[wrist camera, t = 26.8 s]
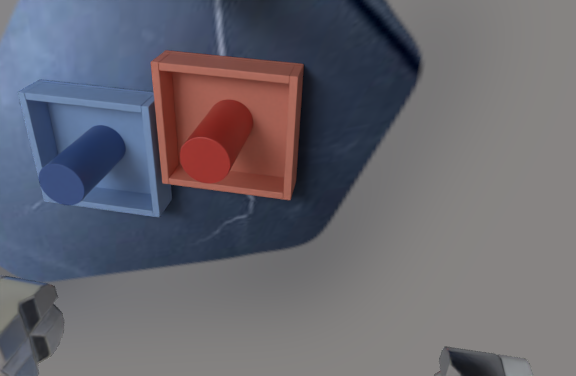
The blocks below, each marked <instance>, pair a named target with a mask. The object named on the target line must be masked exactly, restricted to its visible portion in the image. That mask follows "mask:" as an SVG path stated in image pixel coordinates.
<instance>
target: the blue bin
mask: <svg viewBox="0 0 576 376" xmlns="http://www.w3.org/2000/svg"><path fill="white" fill-rule="evenodd" d="M17 93H18V97H19V101H20V105H21V109H22V113H23V117H24V121H25V125H26V129H27V133H28V137H29V141H30V145H31V149H32V153H33V157H34V161H35V166H36V170H37V174H38V178H39V172H40V170H41V169H42V168H43V167H44V166H45V165H46V164H47V163H49V162H50V161H51V160H52V159H54V158H55V157H56V156H57V155H58V154H60V153H61V152H62V151H63V150H65V149H66V148H67V147H68V146H69V145H71V144H72V143H73V142H74V141H75V140H77V139H78V138H79V137H80V136H82V135H83V134H84V133H85V132H86V131H88V130H89V129H90V128H91V127H93V126H96V125H104V126H108V127H110V128H112V129H114V130H115V131H116V132H118V133H119V134H120V136H121V137H122V139H123V141H124V143H125V148H126V150H125V155H124V157H123V158H122V159H121V160H120V161H119V162H118V163H117V164H116V165H115V166H114V167H113V169H112V170H111V171H110V172H109V173H108V174H107V175H106V176H105V177H104V178H103V179H102V180H101V181H100V182H99V183H98V184H97V185H96V186H95V187H94V188H93V189H92V190H91V191H90V192H89V193H88V194H87V195H86V197H85V198H84V199H83V200H82V201H81V202H79V203H78V204H75V205H74V206H81V207H88V208H95V209H103V210H110V211H117V212H124V213H131V214H138V215H146V216H154V217H160V216H161V215H162V213H163V212H164V210H165V209H166V207H167V206H168V205H169V203H170V202H171V200H172V192H171V184H163V183H162V174H161V164H160V153H159V143H158V132H157V122H156V112H155V101H154V92H148V91H139V90H130V89H121V88H112V87H102V86H93V85H84V84H75V83H66V82H57V81H48V80H38V81H37V82H34V83H33V84H31V85H29V86H27V87H25V88H24V89H22V90H20V91H18V92H17ZM41 190H42V188H41ZM42 194H43V198H44V201H45V202H52V203H57V202H55V201H54V200H52V199H51V198H49V197H48V196H47V195H46V194H45V193H44V191H43V190H42ZM59 204H60V203H59Z"/></svg>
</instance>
